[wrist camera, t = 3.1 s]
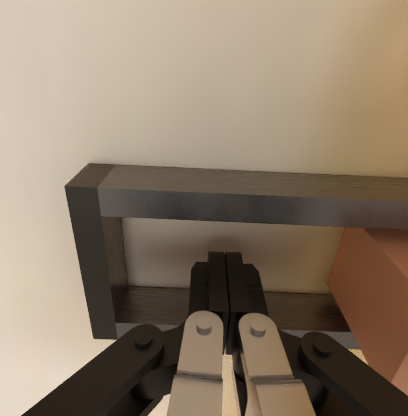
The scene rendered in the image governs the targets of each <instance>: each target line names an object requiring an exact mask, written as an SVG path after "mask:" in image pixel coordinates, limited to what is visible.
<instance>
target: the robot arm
mask: <svg viewBox="0 0 408 416" xmlns="http://www.w3.org/2000/svg"><path fill="white" fill-rule="evenodd" d="M225 350H226V354H227V355H232V358H233V368H232V379H233V386H234V392H235V399H236V405H237V412H238V416H408V395H406V394H405V393H404V392H402V391H401V390H400V389H398V388H397V387H396V386H394V385H393V384H392V383H391V382H389V381H388V380H387V379H385V378H384V377H383V376H381V375H380V374H379V373H378V372H376V371H375V370H374V369H372V368H371V367H370V366H368V365H367V364H366V363H365V362H363V361H362V360H361V359H359V358H358V357H357V356H355V355H354V354H353V353H352V352H350V351H349V350H348V349H346V348H345V347H344V346H342V345H341V344H340V343H339V342H337V341H336V340H335V339H333V338H332V337H330V336H329V335H327V334H325V333H322V332H317V331H312V332H308V333H306V334H304V336H303V337H302V338H300V337H297V336H294V335H291V334H288V333H285V332H283V331H281V330H280V329H278V328H277V327H276V325H275V323H274V322H273V321H272V320H271V319H270V317H269V314H268V310H267V306H266V301H265V297H264V293H263V289H262V284H261V280H260V276H259V272H258V270H257V269H256V268H255V267H254V266H253V264H243V261H242V255H241V252H225V254H224V252H218V251H208V261H207V262H196V263H195V265H194V266H193V267H192V269H191V281H190V295H189V309H188V316H187V318H186V320H185V321H184V322H183V323H182V324H181V325H180V326H178V327H176V328H174V329H170V330H166V331H163V332H162V331H161V330H160V329H159V328H158V327H156V326H154V325H151V324H142V325H138V326H135V327H133V328H132V329H130V330H129V331H128V332H127V333H125V334H124V335H123V336H122V337H120V338H119V339H118V340H116V341H115V342H114V343H113V344H111V345H110V346H109V347H108V348H106V349H105V350H104V351H103V352H101V353H100V354H99V355H97V356H96V357H95V358H94V359H92V360H91V361H90V362H89V363H87V364H86V365H85V366H84V367H82V368H81V369H80V370H78V371H77V372H76V373H75V374H73V375H72V376H71V377H70V378H68V379H67V380H66V381H65V382H63V383H62V384H61V385H59V386H58V387H57V388H56V389H54V390H53V391H52V392H51V393H49V394H48V395H47V396H46V397H44V398H43V399H42V400H40V401H39V402H38V403H37V404H35V405H34V406H33V407H32V408H30V409H29V410H28V411H26V412H25V413H24V414H23V415H21V416H148V414H149V413H150V412H151V411H152V410H153V409H154V408H155V407H156V406H157V404H158V403H159V402H160V401H161V400H162V398H163V396H164V395H168V394H171V395H170V400H169V406H168V411H167V416H222V392H223V380H222V355H223V354H224V351H225Z"/></svg>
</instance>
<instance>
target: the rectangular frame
mask: <svg viewBox="0 0 408 416" xmlns="http://www.w3.org/2000/svg"><path fill="white" fill-rule="evenodd" d="M65 191H66V197H67V202H68V207H69V212H70V218H71V223H72V228H73V233H74V239H75V244H76V249H77V254H78V260H79V265H80V270H81V275H82V281H83V286H84V291H85V296H86V302H87V307H88V312H89V317H90V322H91V328H92V333H93V338H94V339H113V340H118V339H119V338H120V337H122V336H123V335H124V334H125V333H127V332H128V331H129V330H130V329H132V328H133V327H135V326H138V325H142V324H151V325H154V326H156V327H158V328H159V329H160V330H161V331H162V332H163V331H166V330H170V329H174V328H176V327H178V326H180V325H181V324H182V323H183V322H184V321H185V320H186V318H187V316H188V309H189V295H190V289H179V288H155V287H131V286H128V283H127V273H126V263H125V253H124V242H123V232H122V222H121V217H133V218H155V219H178V220H200V221H222V222H245V223H267V224H289V225H312V226H334V227H356V228H378V229H401V230H408V178H387V177H366V176H344V175H323V174H302V173H280V172H259V171H238V170H216V169H195V168H174V167H153V166H131V165H110V164H88V165H87V166H85V167H84V168H83V169H82V170H81V171H80V172H79V173H78V174H77V175H76V176H75V177H74V178H73V179H72V180H71V181H70V182H68V183H67V184H66V185H65ZM263 293H264V297H265V301H266V306H267V310H268V314H269V317H270V319H271V320H272V321H273V322H274V323H275V325H276V327H277V328H278V329H280V330H281V331H283V332H285V333H288V334H291V335H294V336H297V337H300V338H302V337H303V336H304V334H306V333H308V332H312V331H317V332H322V333H325V334H327V335H329V336H330V337H332V338H333V339H335V340H336V341H337V342H339V343H340V344H341V345H342V346H344V347H345V348H346V349H360V347H359V345H358V343H357V341H356V339H355V337H354V335H353V333H352V331H351V330H350V328H349V326H348V324H347V322H346V320H345V318H344V316H343V314H342V312H341V310H340V308H339V306H338V304H337V302H336V300H335V298H334V296H333V295H322V294H298V293H274V292H263Z"/></svg>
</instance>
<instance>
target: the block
mask: <svg viewBox="0 0 408 416" xmlns="http://www.w3.org/2000/svg"><path fill="white" fill-rule="evenodd" d="M327 285H328V287H329V289H330V291H331V293H332V295H333V296H334V298H335V300H336V302H337V304H338V306H339V308H340V310H341V312H342V314H343V316H344V318H345V320H346V322H347V324H348V326H349V328H350V330H351V331H352V333H353V335H354V337H355V339H356V341H357V343H358V345H359V347H360V349H361V351H362V353H363V355H364V357H365V359H366V361H367V363H368V365H369V366H370V367H371V368H372V369H374V370H375V371H376V372H378V373H379V374H380V375H381V376H383V377H384V378H385V379H387V380H388V381H389V382H391V383H392V384H393V385H394V386H396V387H397V388H398V389H400V390H401V391H402V392H404V393H405V394H406V395H408V230H401V229H378V228H356V227H345V230H344V233H343V236H342V240H341V243H340V246H339V249H338V252H337V256H336V259H335V262H334V265H333V268H332V271H331V275H330V278H329V281H328V284H327Z"/></svg>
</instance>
